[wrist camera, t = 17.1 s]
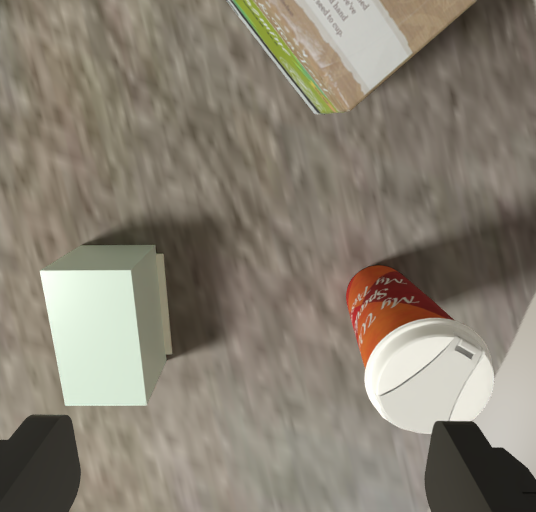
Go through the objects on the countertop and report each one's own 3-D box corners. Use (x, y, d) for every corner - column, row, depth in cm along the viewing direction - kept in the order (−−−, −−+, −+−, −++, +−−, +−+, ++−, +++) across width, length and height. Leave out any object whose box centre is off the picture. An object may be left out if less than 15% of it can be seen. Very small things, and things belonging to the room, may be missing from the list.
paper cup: (365, 237, 35) (422, 305, 22) (436, 279, 37) (531, 367, 23) (317, 309, 38) (342, 409, 24) (386, 346, 39) (446, 462, 25)
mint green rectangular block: (80, 245, 36) (39, 270, 30) (155, 244, 36) (130, 270, 29) (98, 360, 39) (65, 405, 33) (166, 360, 39) (146, 405, 33)
